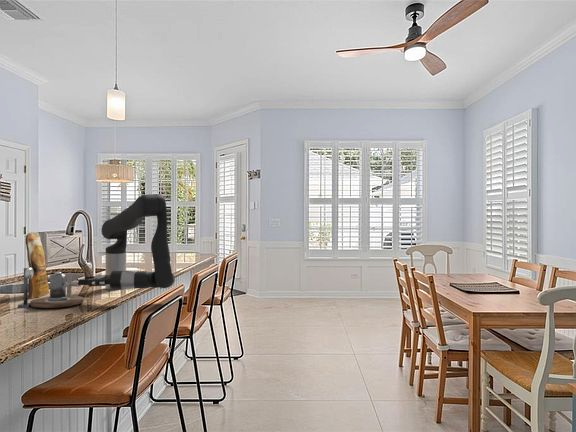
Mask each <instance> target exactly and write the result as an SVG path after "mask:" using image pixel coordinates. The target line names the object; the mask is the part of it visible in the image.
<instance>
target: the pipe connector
mask: <svg viewBox="0 0 576 432" xmlns="http://www.w3.org/2000/svg"><path fill="white" fill-rule="evenodd" d="M72 275H73V273H72V272H67V273H66V295H67V296H72V287H81V286H82V285H78V280H72V279H73V278H72Z"/></svg>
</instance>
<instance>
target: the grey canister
mask: <svg viewBox="0 0 576 432" xmlns="http://www.w3.org/2000/svg"><path fill="white" fill-rule="evenodd" d="M66 282H67V273H62V271H54V273H53V274H50V275H49V296H47V297H48V301H53V302H54V301H64V300H68V296H67V287H66Z"/></svg>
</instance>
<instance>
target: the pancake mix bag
mask: <svg viewBox="0 0 576 432" xmlns="http://www.w3.org/2000/svg"><path fill="white" fill-rule="evenodd" d="M40 235H41V234H40V232H28V233H27V234H26V235H25V246H26V247H25V248H26V251H27V262H28V268H33V277H32V279H28V299H38V298H42V297H43V296H46V295H48V294H50V285H49V281H48V277H47V267H46V258H45V252H44V247H43V243H42V241H41V240H42V239H41V236H40Z"/></svg>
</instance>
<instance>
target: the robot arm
mask: <svg viewBox="0 0 576 432" xmlns="http://www.w3.org/2000/svg"><path fill="white" fill-rule="evenodd" d="M167 210H168V209H167V202H166V198H165V196H163V195H162V194H160V193H153V194H152V193H151V194H142V195H139V197H137V198H136V199H135V200H134V202H133V203H132V204H131V205H129V206H128V207H126V208H125V209H123V210H122V211H121V212H120V213H118V214H117V215H115V216H114V217H112V218H110V219H107V220H105V221H104V222H103V223H102V226H101V230H100V231H101V235H102V236H103V238H104V239H107V240H116V242H115V243H113V244H112V245H111V244H110V245H108V246H106V247H105V257H104V258H105V271H104V273H105V274H98V275H94V276H93V275H92V276H89V275H87V276H84V278H82V279H81V278H80V279H78V280H77V282H78V285H81V286H88V287H90V288H91V287H104V289H105V290H110V291H112V290H113V291H115V290H133V289H147V288H149V289H150V288H155V289H157V288H158V289H168V288H170V287H172V286H174V283H175V280H176V278H175V275H174V273H173V271H172V265H171V261H172V260H171V253H170V247H169V242H168V241H169V240H168V217H167V216H168V215H167V213H168V211H167ZM147 217H156V220H157V222H156V223H157V224H156V230H155V232H154V234H153V237H152V240H151V244H150V251H151V256H152V261H153V265H154V266H153V267H154V270H153V271H148V270H147V271H145V270H135V271H134V270H127V269H126V268H127V266H126V265H127V263H126V262H127V261H126V260H127V259H126V258H127V257H126V256H127V253H126V252H127V243H128V242H127V241H128V231H130V230H133V229H135V228H137V227H138V226H139V225H141V224H142V222H143V221H144V218H147Z"/></svg>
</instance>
